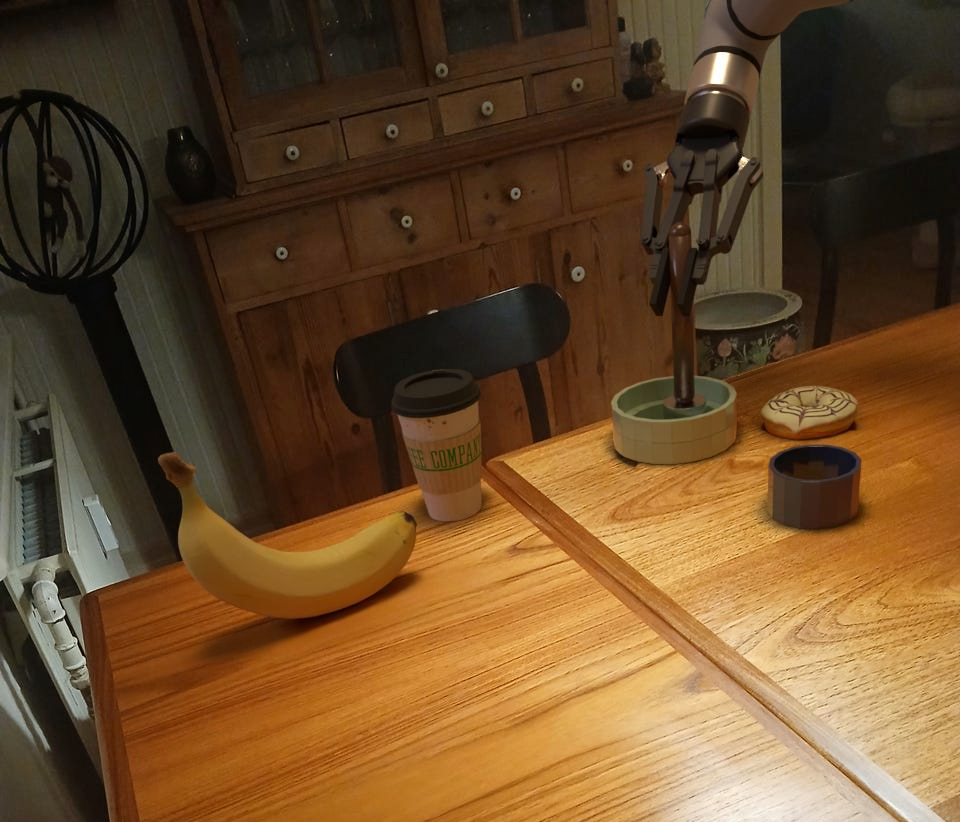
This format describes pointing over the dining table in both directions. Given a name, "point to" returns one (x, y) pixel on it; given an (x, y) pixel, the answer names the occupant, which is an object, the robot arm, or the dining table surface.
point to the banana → (284, 559)
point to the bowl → (673, 422)
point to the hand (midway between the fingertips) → (669, 309)
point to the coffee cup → (443, 439)
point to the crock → (814, 486)
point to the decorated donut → (809, 412)
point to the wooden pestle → (681, 334)
